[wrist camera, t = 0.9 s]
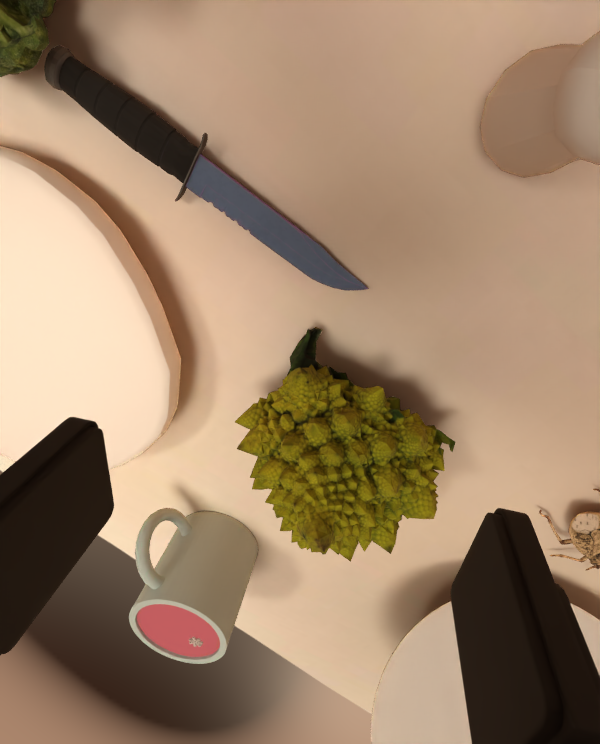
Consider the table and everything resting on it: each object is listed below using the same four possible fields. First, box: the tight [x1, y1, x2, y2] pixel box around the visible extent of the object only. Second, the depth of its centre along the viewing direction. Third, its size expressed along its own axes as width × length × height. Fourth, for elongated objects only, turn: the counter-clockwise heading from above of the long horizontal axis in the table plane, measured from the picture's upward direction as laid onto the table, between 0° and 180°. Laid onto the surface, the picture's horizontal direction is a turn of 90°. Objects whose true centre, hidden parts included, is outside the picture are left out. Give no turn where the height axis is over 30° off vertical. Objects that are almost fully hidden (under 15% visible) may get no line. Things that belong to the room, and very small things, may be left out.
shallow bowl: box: [371, 601, 600, 744], centre depth 38 cm, size 25×25×6 cm
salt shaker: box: [480, 31, 600, 177], centre depth 18 cm, size 6×6×13 cm
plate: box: [0, 146, 181, 470], centre depth 34 cm, size 28×6×27 cm
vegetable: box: [235, 327, 455, 562], centre depth 31 cm, size 15×16×15 cm
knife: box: [45, 45, 369, 290], centre depth 28 cm, size 24×2×5 cm
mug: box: [129, 508, 258, 664], centre depth 40 cm, size 14×9×10 cm
